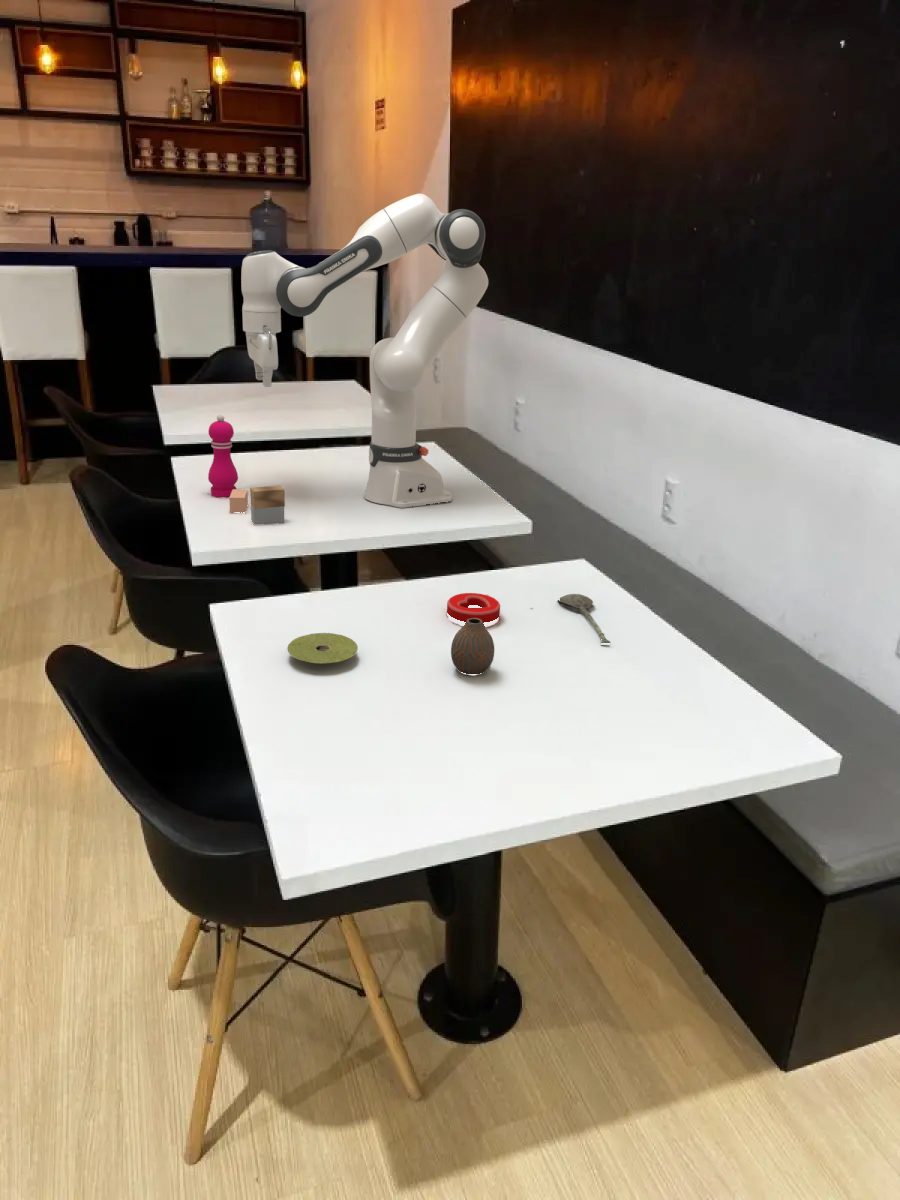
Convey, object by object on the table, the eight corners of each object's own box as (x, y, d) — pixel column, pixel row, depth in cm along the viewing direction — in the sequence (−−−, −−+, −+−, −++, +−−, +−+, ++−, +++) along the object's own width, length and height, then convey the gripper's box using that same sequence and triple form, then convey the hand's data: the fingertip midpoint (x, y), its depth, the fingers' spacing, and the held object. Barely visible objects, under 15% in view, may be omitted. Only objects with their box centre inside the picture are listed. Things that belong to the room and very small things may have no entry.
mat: (371, 654, 150) (371, 644, 149) (329, 680, 141) (329, 669, 140) (316, 637, 155) (316, 626, 155) (273, 661, 146) (272, 650, 145)
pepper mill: (234, 499, 226) (231, 418, 219) (205, 497, 226) (201, 416, 219) (241, 491, 233) (238, 412, 225) (213, 489, 233) (209, 411, 225)
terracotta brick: (233, 505, 222) (232, 489, 221) (248, 505, 223) (247, 489, 221) (230, 513, 216) (229, 497, 214) (245, 514, 216) (244, 497, 215)
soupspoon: (585, 602, 179) (553, 604, 178) (586, 586, 178) (553, 588, 177) (623, 647, 159) (586, 650, 158) (624, 629, 158) (587, 632, 157)
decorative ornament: (497, 631, 162) (498, 615, 161) (443, 626, 163) (444, 609, 162) (500, 610, 171) (502, 594, 170) (449, 605, 172) (450, 589, 171)
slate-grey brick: (281, 518, 214) (281, 502, 213) (284, 523, 211) (284, 506, 210) (251, 520, 212) (250, 504, 210) (253, 525, 209) (253, 508, 207)
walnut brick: (280, 502, 213) (280, 485, 211) (284, 506, 210) (284, 489, 208) (250, 504, 210) (250, 487, 208) (254, 508, 207) (254, 491, 205)
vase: (443, 663, 149) (446, 614, 145) (482, 658, 151) (486, 610, 148) (459, 682, 143) (462, 631, 139) (499, 677, 145) (503, 627, 142)
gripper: (284, 329, 208) (285, 390, 213) (267, 319, 225) (268, 375, 231) (256, 329, 206) (258, 391, 211) (241, 318, 223) (243, 376, 229)
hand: (263, 383), depth 221 cm, fingers open, 8 cm apart
